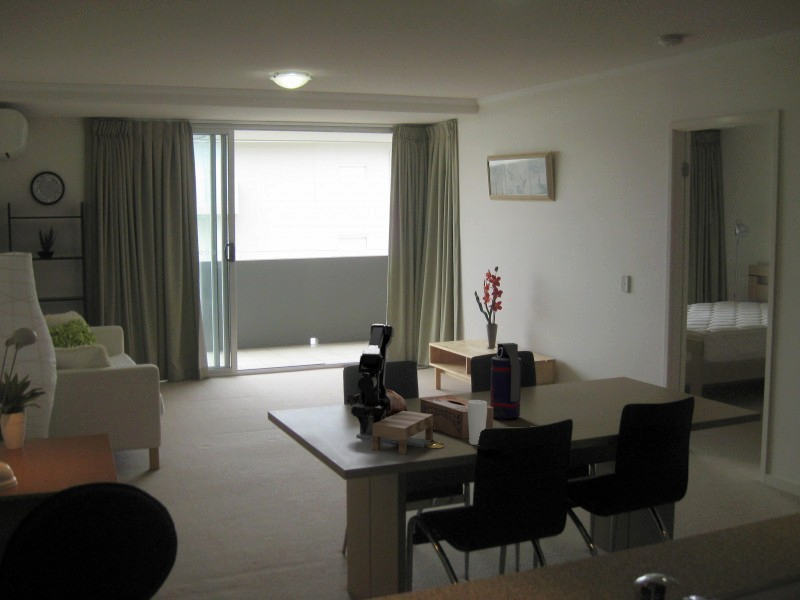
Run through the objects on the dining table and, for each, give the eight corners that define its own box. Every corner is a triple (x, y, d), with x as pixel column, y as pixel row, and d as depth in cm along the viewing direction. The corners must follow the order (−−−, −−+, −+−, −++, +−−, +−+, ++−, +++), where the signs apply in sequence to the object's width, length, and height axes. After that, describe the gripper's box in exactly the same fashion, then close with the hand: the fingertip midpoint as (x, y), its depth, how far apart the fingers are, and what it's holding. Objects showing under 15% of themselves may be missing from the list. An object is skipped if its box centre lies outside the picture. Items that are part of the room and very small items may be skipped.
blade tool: (364, 434, 303) (364, 413, 303) (430, 444, 292) (430, 422, 291) (356, 438, 298) (356, 416, 297) (423, 448, 286) (423, 425, 286)
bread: (352, 413, 341) (351, 388, 340) (390, 406, 353) (389, 383, 353) (376, 418, 328) (376, 393, 328) (415, 411, 340) (414, 387, 340)
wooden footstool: (402, 435, 302) (403, 410, 301) (432, 439, 297) (433, 414, 296) (372, 450, 282) (372, 424, 281) (404, 454, 276) (404, 428, 275)
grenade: (484, 415, 335) (486, 341, 332) (510, 413, 339) (512, 340, 336) (501, 423, 322) (503, 346, 319) (528, 420, 326) (530, 345, 324)
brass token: (430, 444, 292) (430, 440, 292) (446, 446, 289) (446, 443, 289) (423, 448, 286) (423, 444, 286) (439, 450, 284) (439, 447, 284)
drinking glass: (469, 440, 296) (470, 399, 294) (487, 442, 294) (488, 400, 292) (465, 445, 289) (466, 403, 288) (484, 447, 287) (485, 404, 286)
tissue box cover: (420, 424, 320) (420, 398, 319) (449, 419, 328) (450, 394, 327) (462, 439, 298) (463, 411, 298) (492, 433, 307) (493, 407, 306)
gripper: (364, 380, 309) (363, 421, 311) (338, 389, 293) (337, 432, 294) (390, 383, 304) (390, 425, 306) (365, 392, 288) (365, 436, 289)
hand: (370, 429), depth 299 cm, fingers open, 9 cm apart
